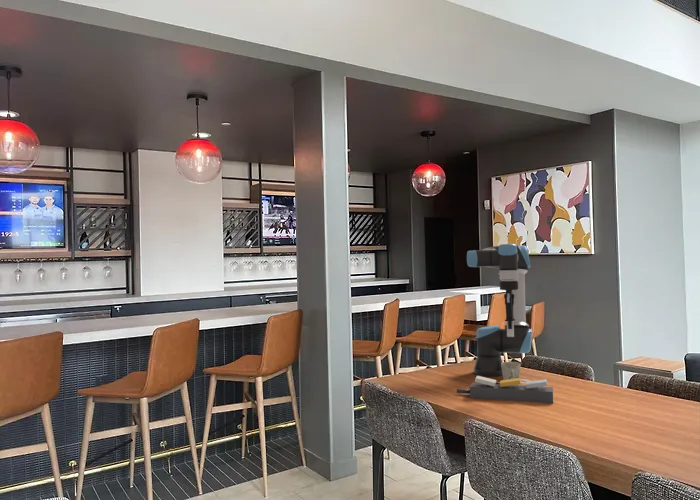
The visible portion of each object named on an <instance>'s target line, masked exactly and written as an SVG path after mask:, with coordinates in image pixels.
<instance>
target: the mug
mask: <svg viewBox="0 0 700 500" xmlns="http://www.w3.org/2000/svg"><path fill="white" fill-rule="evenodd" d="M501 367H502V373H503V375H502V378H503V379H502V380H508V379H515V378H520V373H521V372H520V371H521V362H516V361H504V362H503V361H502V363H501Z"/></svg>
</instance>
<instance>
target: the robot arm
mask: <svg viewBox="0 0 700 500" xmlns="http://www.w3.org/2000/svg"><path fill="white" fill-rule="evenodd" d="M528 249H529V248H528V247H527V246H526V245H521V244H515V243H502V244H499V245H494V246H490V247H486V248H482V249H481V250H480V249H478V250H477V249H473V250H468V251H467V252H466V263H467V266H468V267H469V268H490V269H491V268H492V269H498V271H499V272H498V273H497V275H498V276H499V280H500V281H499V290H501V291H505V293H504V294H503V299H504V305H505V316H506V317H505V319H504V322H506V323H505V324H504V328H501V326H500V325H490V326H484V327H483V326H482V327H479V328H477V329H476V337H475V339H476V360H475V364H474V367H473V373H474V374H475V375H476V376H482V377H499V376H503V373H502V367H501V363H502V362H503V360H502V353H506V354H510V353H511V354H528V353H530V352H531V348H532V340H533V330H532V329H531V328H530V325H529V324H528V323H527V318H526V317H527V313H526V311H527V310H526V281H525V280H526V279H525V277H526V276H525V275H526V274H527V273H528V271H529V269H530V268H531V262H530V255H529V250H528Z"/></svg>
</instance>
